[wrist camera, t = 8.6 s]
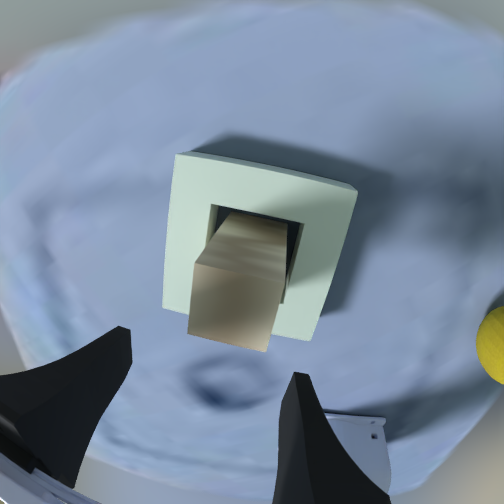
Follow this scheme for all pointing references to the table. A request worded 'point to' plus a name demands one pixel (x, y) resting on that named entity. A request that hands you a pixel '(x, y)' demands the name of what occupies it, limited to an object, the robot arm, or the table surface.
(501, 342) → the lemon
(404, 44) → the table surface
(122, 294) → the table surface
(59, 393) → the robot arm
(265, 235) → the peg
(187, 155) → the socket block
